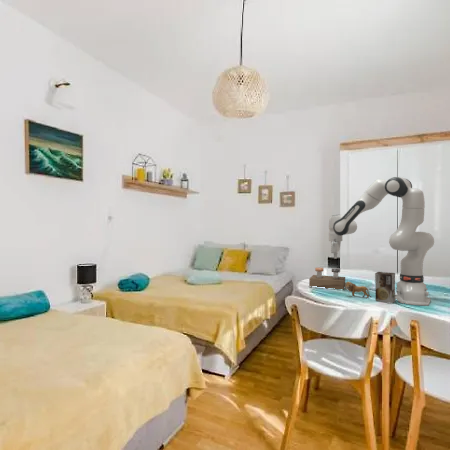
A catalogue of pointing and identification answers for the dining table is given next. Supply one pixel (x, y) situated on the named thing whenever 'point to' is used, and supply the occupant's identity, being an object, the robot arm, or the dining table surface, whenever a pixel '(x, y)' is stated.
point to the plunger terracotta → (319, 272)
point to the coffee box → (385, 287)
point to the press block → (327, 282)
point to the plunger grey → (335, 273)
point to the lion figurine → (356, 289)
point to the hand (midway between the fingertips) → (335, 258)
